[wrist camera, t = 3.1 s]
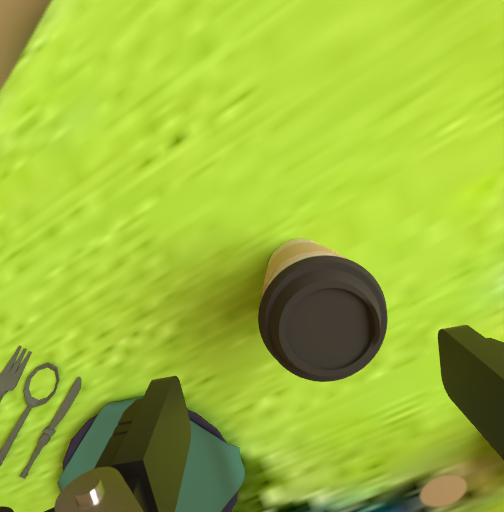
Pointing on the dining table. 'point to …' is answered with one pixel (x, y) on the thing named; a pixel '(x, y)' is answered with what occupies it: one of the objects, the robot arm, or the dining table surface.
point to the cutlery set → (100, 430)
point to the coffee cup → (320, 312)
